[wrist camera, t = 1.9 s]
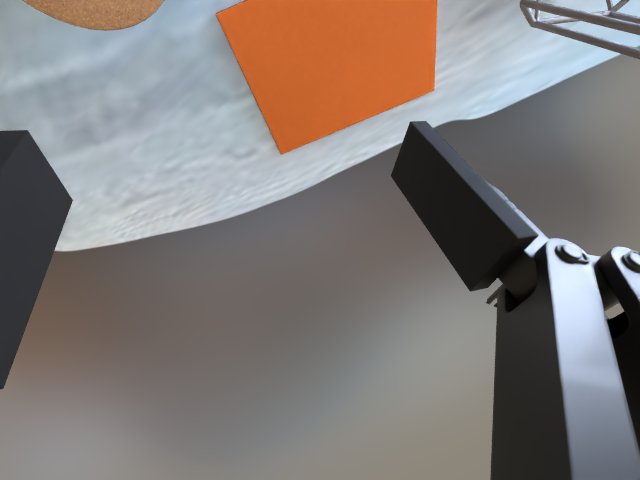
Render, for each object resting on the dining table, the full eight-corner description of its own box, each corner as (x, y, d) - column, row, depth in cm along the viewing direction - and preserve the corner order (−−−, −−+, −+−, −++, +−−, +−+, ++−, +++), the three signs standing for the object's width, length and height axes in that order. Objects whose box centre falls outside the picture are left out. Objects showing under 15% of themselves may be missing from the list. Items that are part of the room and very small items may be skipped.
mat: (280, 152, 37) (281, 154, 37) (215, 13, 25) (215, 14, 25) (432, 89, 36) (434, 90, 36) (438, -87, 25) (440, -86, 24)
